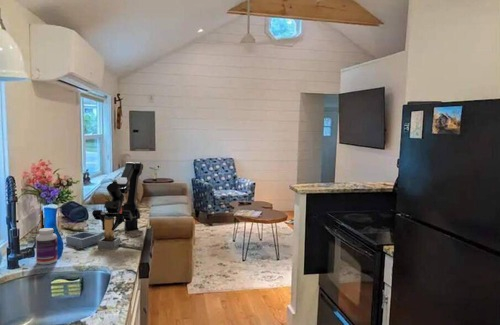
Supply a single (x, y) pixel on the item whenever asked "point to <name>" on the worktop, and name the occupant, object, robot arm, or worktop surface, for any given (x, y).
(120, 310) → the worktop surface
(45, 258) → the pill bottle
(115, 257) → the worktop surface
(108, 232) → the jumbo cell
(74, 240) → the bin
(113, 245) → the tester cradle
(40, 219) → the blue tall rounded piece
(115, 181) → the robot arm
